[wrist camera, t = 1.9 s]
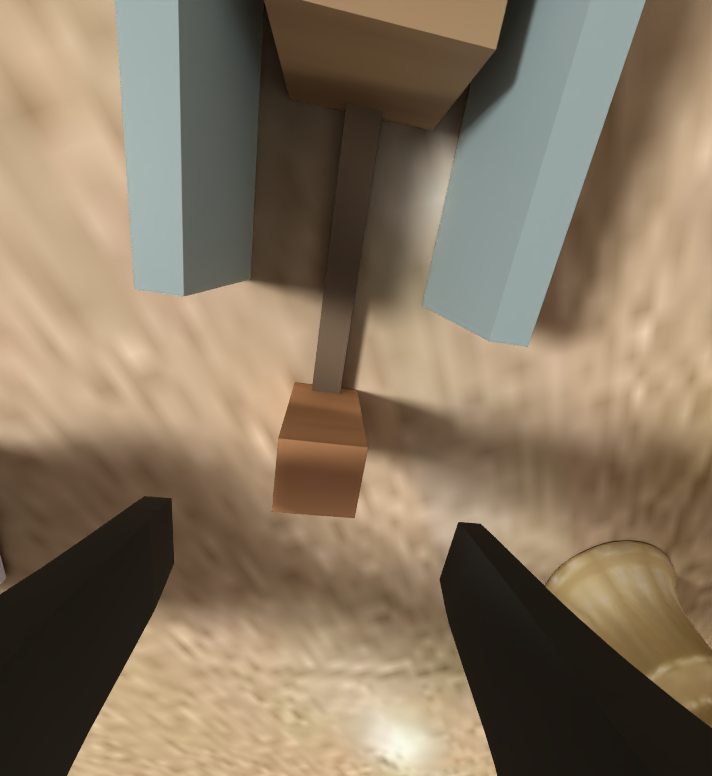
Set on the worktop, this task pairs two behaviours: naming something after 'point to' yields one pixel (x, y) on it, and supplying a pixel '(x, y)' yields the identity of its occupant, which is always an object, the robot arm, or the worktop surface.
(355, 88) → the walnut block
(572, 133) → the lane shelf
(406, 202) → the worktop surface
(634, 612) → the hand bell
